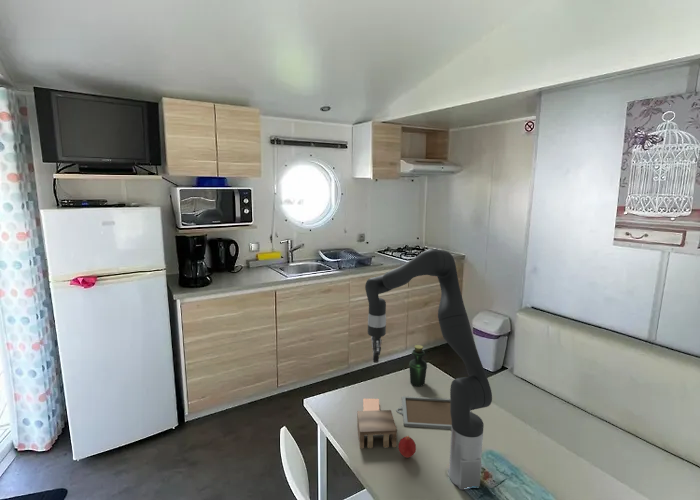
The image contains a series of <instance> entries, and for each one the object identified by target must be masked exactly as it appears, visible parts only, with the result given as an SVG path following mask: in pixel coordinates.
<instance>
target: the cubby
mask: <svg viewBox="0 0 700 500" xmlns="http://www.w3.org/2000/svg"><path fill="white" fill-rule="evenodd" d="M356 413H357V416H356V417H357V419H356V422H357V423H356V424H357V425H356V427H357V434H358V437H357V438H358V444H359V449H365V436H367V439H366V446H367V449H374V436H381V435H382V446H383V448H389V447H390V443H391V447H392V448H397V446H398V445H397V442H398V441H397V439H398V437H397V436H398V429H397V427H396V426H397V425H396V422H395V418H394V415H393V412H392V410H391V409H385V410H384V409H383V410H378V411H363V410H357V412H356ZM390 441H391V442H390Z"/></svg>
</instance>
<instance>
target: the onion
mask: <svg viewBox="0 0 700 500" xmlns="http://www.w3.org/2000/svg"><path fill="white" fill-rule="evenodd" d="M397 446H398V451H399V453H400V455H402V457H404V458H405V459H408V458H411V457H413V456H414V455H415V453H416V451H417V446H416V442H415V440H414V439H412V437H410V435H406V436H404V437H402V438H401V439H400V440H399V442H398V445H397Z"/></svg>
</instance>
